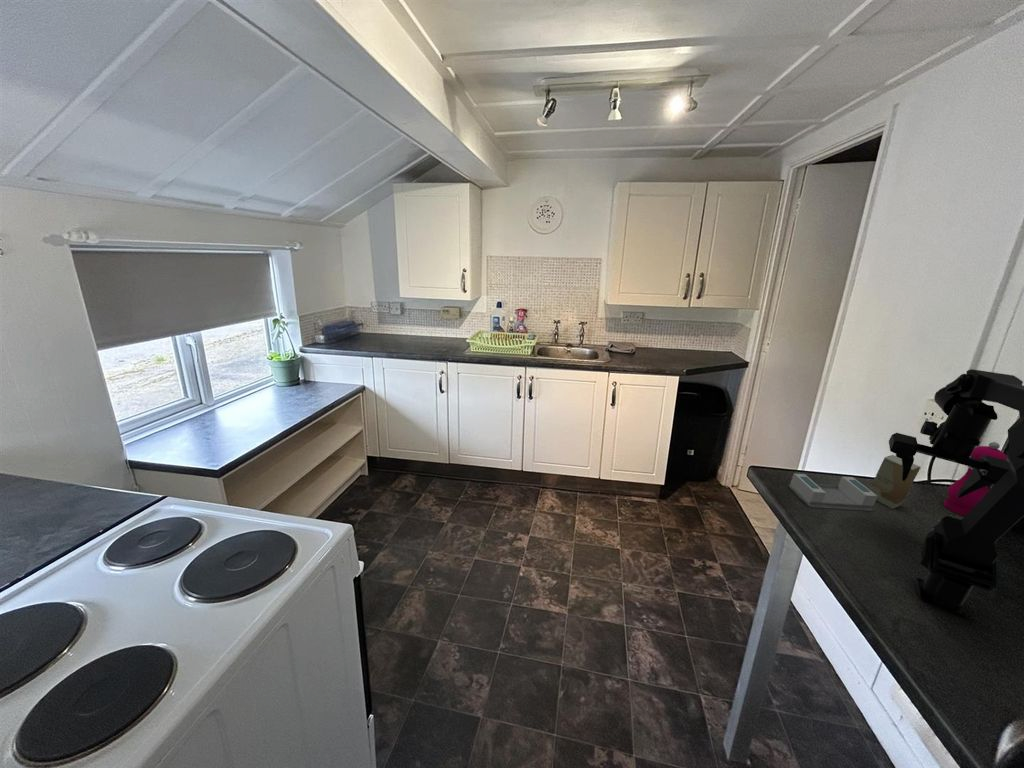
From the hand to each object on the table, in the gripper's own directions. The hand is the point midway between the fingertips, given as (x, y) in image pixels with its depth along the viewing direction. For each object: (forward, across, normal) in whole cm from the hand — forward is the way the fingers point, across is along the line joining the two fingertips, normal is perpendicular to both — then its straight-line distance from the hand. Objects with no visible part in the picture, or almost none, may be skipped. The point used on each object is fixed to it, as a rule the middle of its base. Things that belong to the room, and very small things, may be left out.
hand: (930, 488), depth 92 cm
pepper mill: (+15, -13, -22) cm, 30 cm away
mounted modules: (+14, +15, -4) cm, 21 cm away
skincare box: (+15, +3, -14) cm, 20 cm away
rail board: (+14, +15, -4) cm, 21 cm away
